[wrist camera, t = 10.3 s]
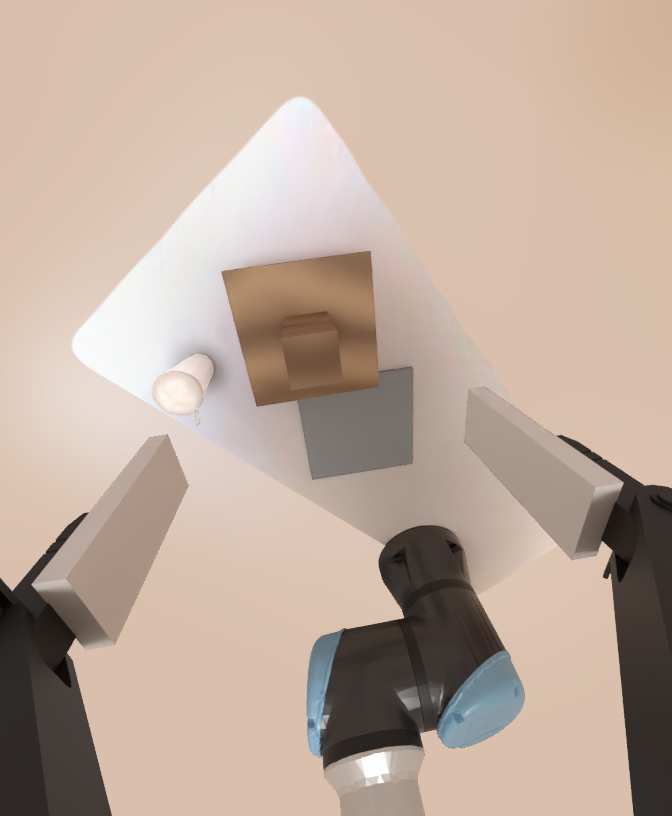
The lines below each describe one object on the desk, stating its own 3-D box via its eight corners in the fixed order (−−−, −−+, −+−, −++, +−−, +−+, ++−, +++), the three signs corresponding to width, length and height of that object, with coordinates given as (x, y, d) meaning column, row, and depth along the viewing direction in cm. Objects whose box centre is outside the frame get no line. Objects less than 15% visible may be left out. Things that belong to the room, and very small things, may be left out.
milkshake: (207, 396, 39) (181, 438, 30) (171, 364, 37) (132, 400, 28) (233, 373, 38) (215, 410, 30) (198, 339, 36) (167, 368, 27)
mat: (411, 461, 48) (412, 463, 47) (312, 477, 47) (312, 479, 46) (411, 366, 41) (412, 368, 40) (295, 383, 40) (295, 385, 39)
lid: (376, 382, 35) (402, 423, 26) (258, 401, 34) (246, 449, 26) (367, 251, 29) (396, 251, 21) (224, 270, 28) (195, 278, 20)
